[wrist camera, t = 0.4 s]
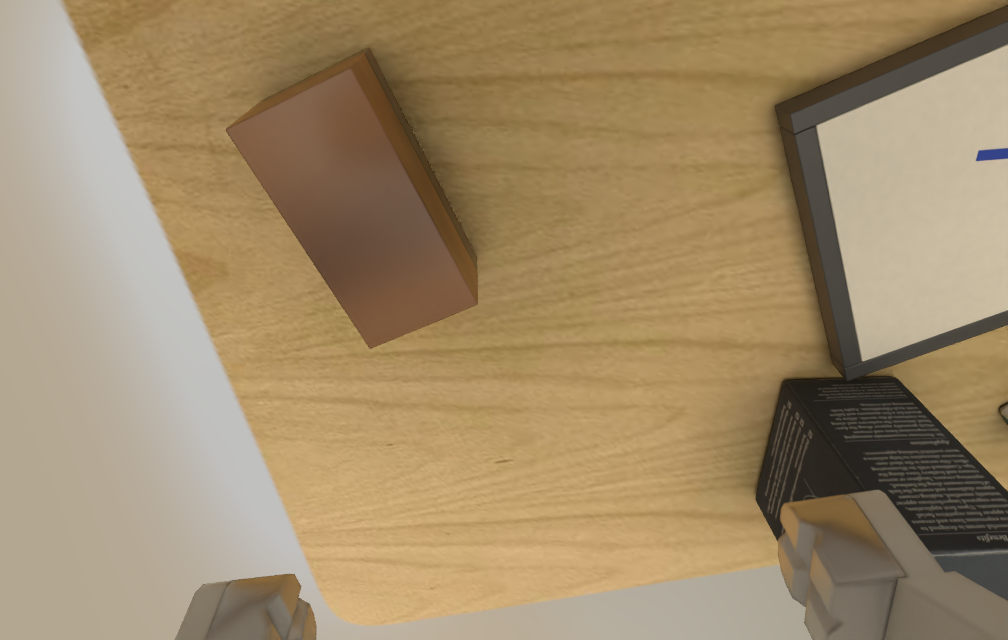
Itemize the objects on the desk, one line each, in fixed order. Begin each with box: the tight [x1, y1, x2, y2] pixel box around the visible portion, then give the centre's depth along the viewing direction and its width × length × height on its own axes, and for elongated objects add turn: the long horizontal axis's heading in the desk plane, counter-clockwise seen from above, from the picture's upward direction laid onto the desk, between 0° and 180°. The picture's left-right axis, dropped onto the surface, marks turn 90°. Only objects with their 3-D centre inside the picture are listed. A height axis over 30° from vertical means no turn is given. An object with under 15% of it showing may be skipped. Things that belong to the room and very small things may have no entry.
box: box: [756, 377, 1008, 601], centre depth 29 cm, size 8×6×11 cm
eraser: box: [226, 48, 478, 349], centre depth 24 cm, size 9×4×4 cm, turn 24°
